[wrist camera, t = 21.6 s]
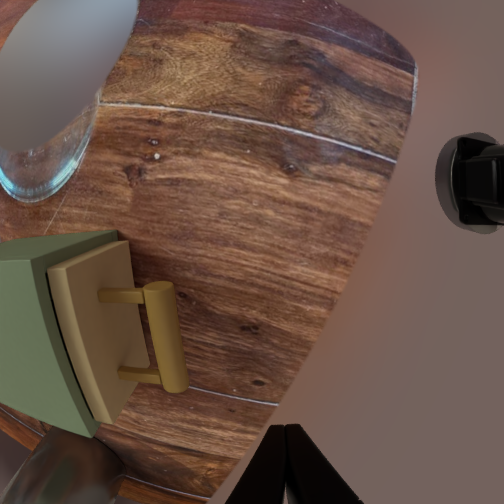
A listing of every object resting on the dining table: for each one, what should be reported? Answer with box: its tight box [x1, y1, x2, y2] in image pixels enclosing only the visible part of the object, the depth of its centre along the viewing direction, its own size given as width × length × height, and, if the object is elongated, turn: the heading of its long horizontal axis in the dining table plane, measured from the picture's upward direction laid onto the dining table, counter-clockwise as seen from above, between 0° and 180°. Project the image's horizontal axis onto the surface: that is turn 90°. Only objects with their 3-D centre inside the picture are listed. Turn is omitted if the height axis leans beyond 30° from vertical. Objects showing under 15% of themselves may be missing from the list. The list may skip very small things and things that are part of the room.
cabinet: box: [0, 230, 118, 438], centre depth 14 cm, size 11×10×8 cm
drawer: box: [45, 241, 190, 424], centre depth 14 cm, size 13×8×6 cm, turn 93°
